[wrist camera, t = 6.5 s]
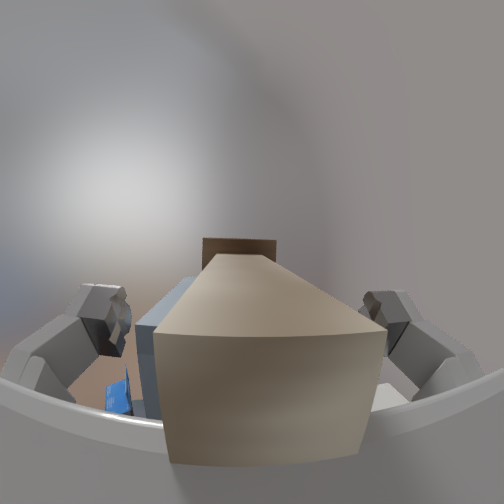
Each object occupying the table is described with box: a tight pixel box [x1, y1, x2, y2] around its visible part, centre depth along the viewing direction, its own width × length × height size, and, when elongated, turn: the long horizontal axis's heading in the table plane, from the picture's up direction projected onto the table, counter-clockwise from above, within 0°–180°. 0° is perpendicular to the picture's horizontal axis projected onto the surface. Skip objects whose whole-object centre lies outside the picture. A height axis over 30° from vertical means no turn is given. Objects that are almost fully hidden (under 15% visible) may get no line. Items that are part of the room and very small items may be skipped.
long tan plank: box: [153, 238, 388, 467], centre depth 14 cm, size 5×21×4 cm, turn 4°
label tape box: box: [105, 364, 134, 416], centre depth 30 cm, size 9×4×12 cm, turn 25°
